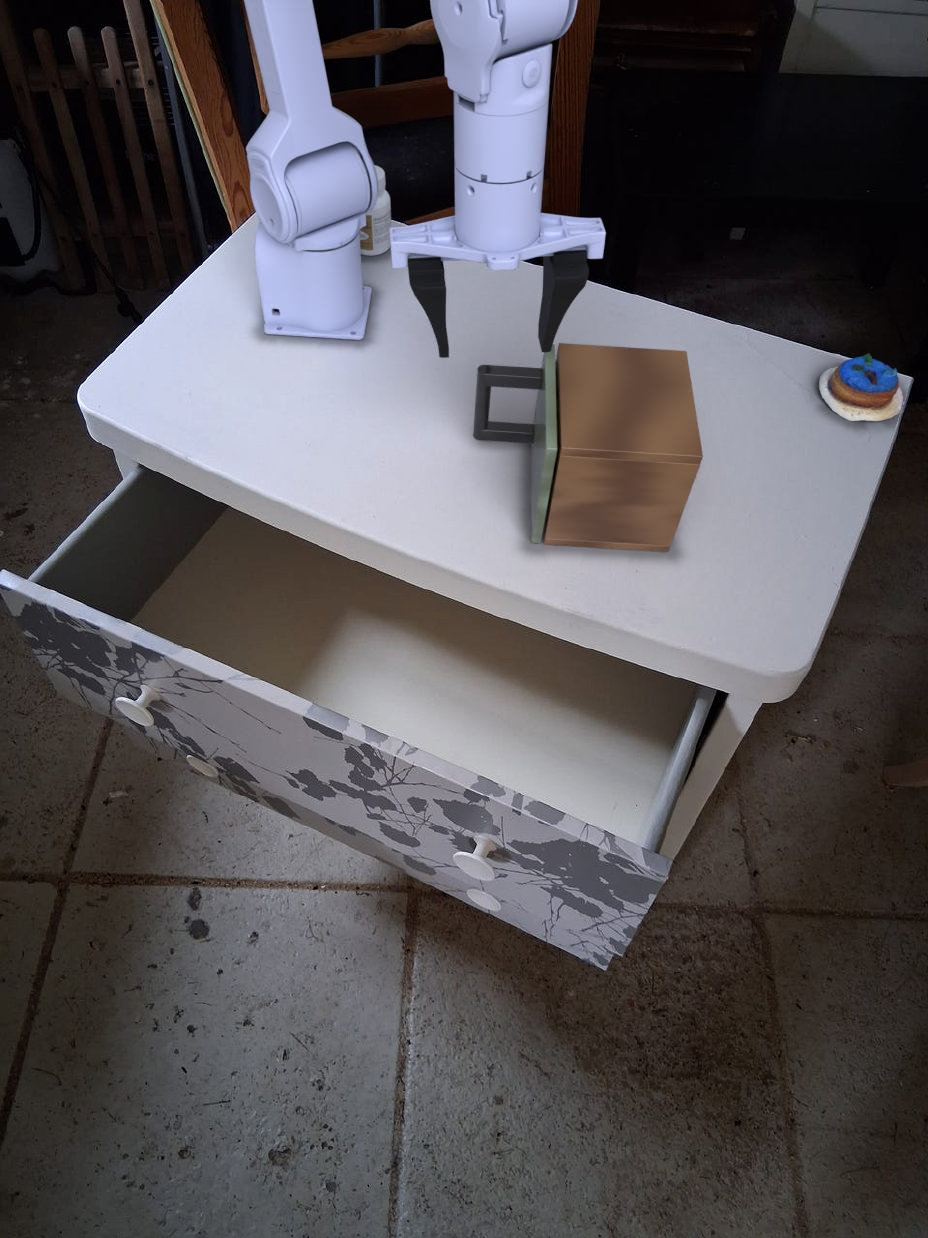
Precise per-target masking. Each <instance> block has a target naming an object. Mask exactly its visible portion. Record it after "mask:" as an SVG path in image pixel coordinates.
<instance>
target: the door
mask: <svg viewBox="0 0 928 1238" xmlns="http://www.w3.org/2000/svg"><path fill="white" fill-rule="evenodd" d="M555 362H556V345H555V344H554V343H553V345H552V348H551V351H550V352H542V362H541V367H527V366H512V365H511V366H509V365H497V364H481V365H479V366H478V367H477V368H476V369H477V371H476V385H475V386H476V387H475V400H474V413H473V429H472V430H473V431H472V438H474V440H477V441H484V442H498V443H499V442H501V443H515V444H516V443H517V444H529V445H530V543H532V544H541V543H542V539H543V535H544V523H545V517H546V511H547V506H548V500H549V494H550V488H551V483H552V477H553V471H554V466H555V460H556V454H557V412H556V370H555ZM492 388H506V389H523V390H537V396H536V402H535V410H534V417H533V418H534V419H533V423H526V422H525V423H523V422H507V421H491V420H489V419H490V407H491V395H492Z"/></svg>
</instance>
